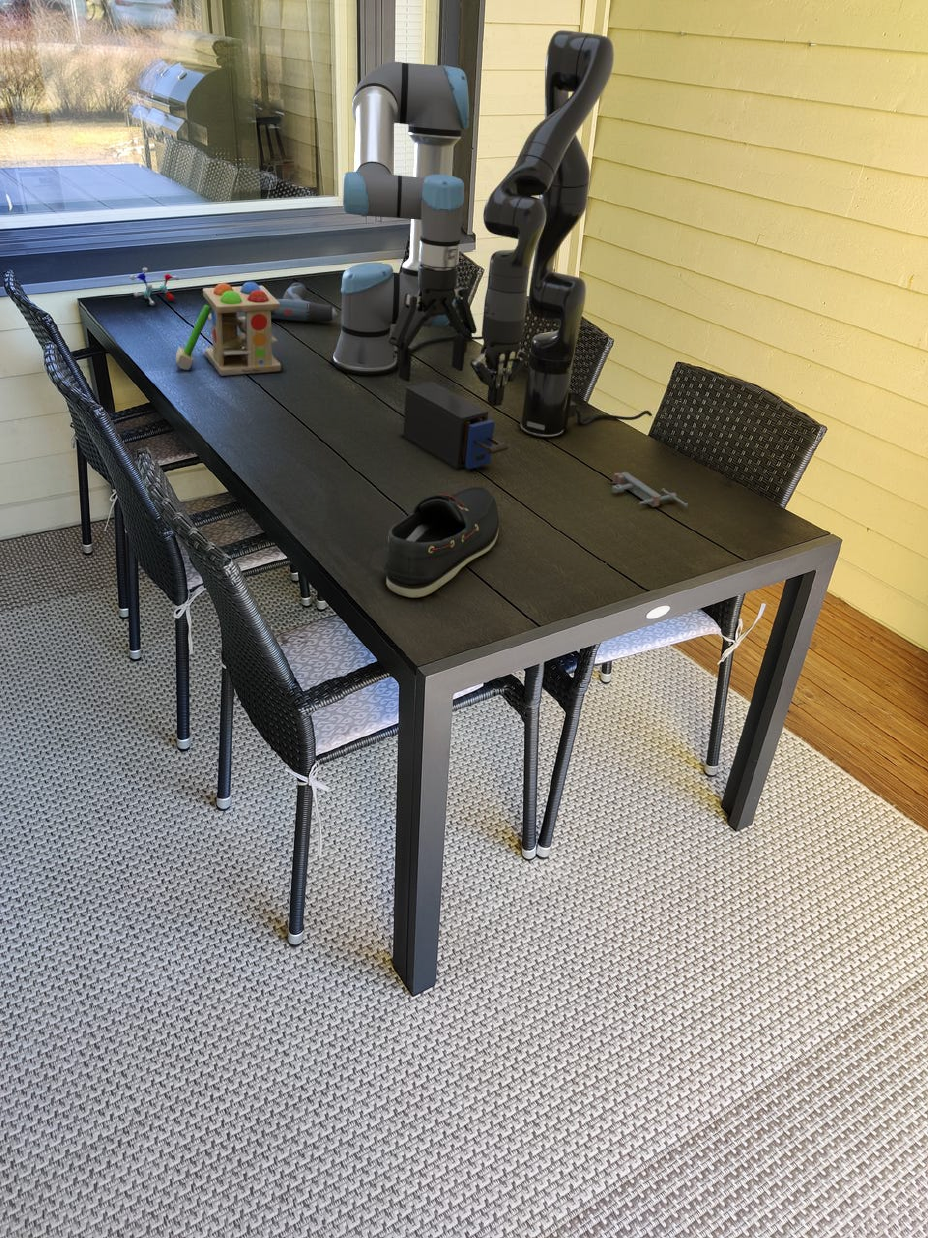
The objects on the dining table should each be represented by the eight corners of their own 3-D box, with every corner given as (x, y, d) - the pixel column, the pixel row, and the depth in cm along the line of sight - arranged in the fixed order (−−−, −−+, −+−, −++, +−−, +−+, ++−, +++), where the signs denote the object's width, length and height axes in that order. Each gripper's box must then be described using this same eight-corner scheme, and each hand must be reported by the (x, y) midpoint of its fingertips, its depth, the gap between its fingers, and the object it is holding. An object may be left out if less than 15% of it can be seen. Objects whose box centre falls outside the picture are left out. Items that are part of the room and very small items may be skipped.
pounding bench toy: (183, 379, 220) (176, 299, 210) (169, 357, 231) (162, 280, 221) (282, 371, 230) (280, 294, 220) (264, 350, 240) (262, 276, 230)
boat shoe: (525, 530, 177) (530, 477, 171) (421, 604, 153) (423, 545, 147) (465, 510, 182) (468, 458, 177) (355, 579, 158) (355, 521, 153)
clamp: (601, 475, 192) (641, 467, 197) (599, 485, 194) (639, 477, 198) (649, 509, 182) (690, 500, 186) (647, 519, 183) (688, 510, 188)
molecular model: (162, 296, 256) (148, 259, 255) (134, 310, 260) (120, 273, 259) (187, 299, 267) (174, 263, 265) (160, 312, 270) (147, 276, 269)
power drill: (344, 304, 276) (335, 327, 259) (277, 298, 275) (264, 321, 258) (344, 285, 273) (335, 306, 256) (277, 279, 272) (264, 300, 255)
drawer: (507, 473, 193) (512, 430, 188) (485, 479, 190) (490, 436, 185) (438, 433, 206) (441, 392, 201) (417, 438, 203) (419, 397, 198)
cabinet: (483, 461, 198) (488, 411, 192) (457, 469, 195) (461, 417, 188) (428, 430, 209) (432, 381, 203) (403, 436, 205) (405, 386, 199)
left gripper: (397, 277, 176) (392, 390, 188) (500, 263, 190) (490, 369, 202) (372, 266, 180) (369, 378, 192) (475, 254, 195) (466, 358, 206)
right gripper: (490, 324, 169) (481, 418, 179) (545, 314, 177) (533, 404, 187) (462, 311, 174) (455, 404, 184) (517, 302, 181) (507, 391, 191)
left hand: (431, 374), depth 197 cm, fingers open, 13 cm apart
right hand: (494, 404), depth 185 cm, fingers closed
